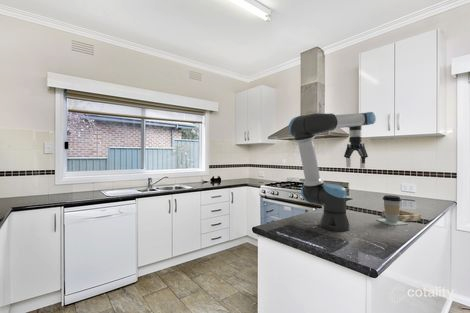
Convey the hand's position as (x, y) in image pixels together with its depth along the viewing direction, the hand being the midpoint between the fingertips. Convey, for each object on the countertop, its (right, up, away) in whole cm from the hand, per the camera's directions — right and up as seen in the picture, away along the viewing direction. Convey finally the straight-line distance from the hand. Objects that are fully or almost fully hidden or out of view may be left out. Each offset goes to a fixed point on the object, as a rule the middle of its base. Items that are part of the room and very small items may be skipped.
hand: (355, 167), depth 162 cm
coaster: (+12, -32, -20) cm, 39 cm away
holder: (+24, -32, -10) cm, 41 cm away
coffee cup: (+12, -32, -20) cm, 39 cm away
